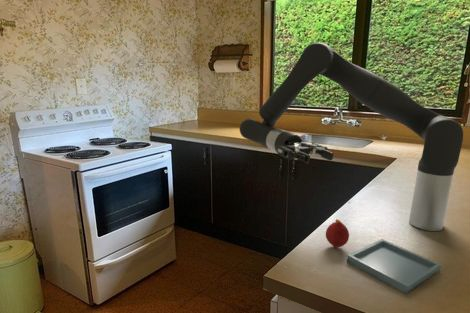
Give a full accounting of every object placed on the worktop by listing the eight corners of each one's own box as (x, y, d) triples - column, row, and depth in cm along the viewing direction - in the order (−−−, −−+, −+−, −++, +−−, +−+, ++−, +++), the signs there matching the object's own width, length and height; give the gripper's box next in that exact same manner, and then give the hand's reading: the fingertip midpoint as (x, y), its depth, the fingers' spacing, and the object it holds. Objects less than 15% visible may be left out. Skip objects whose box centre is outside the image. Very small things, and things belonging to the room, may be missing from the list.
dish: (381, 245, 92) (382, 238, 92) (439, 271, 81) (441, 264, 80) (346, 261, 84) (347, 255, 83) (406, 294, 72) (408, 286, 72)
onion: (343, 242, 93) (346, 215, 91) (350, 253, 88) (354, 224, 86) (322, 242, 93) (324, 214, 91) (328, 253, 88) (331, 224, 86)
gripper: (266, 132, 101) (302, 146, 87) (302, 130, 108) (341, 143, 95) (263, 156, 103) (298, 174, 90) (299, 152, 110) (337, 168, 97)
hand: (320, 158), depth 92 cm, fingers open, 8 cm apart
